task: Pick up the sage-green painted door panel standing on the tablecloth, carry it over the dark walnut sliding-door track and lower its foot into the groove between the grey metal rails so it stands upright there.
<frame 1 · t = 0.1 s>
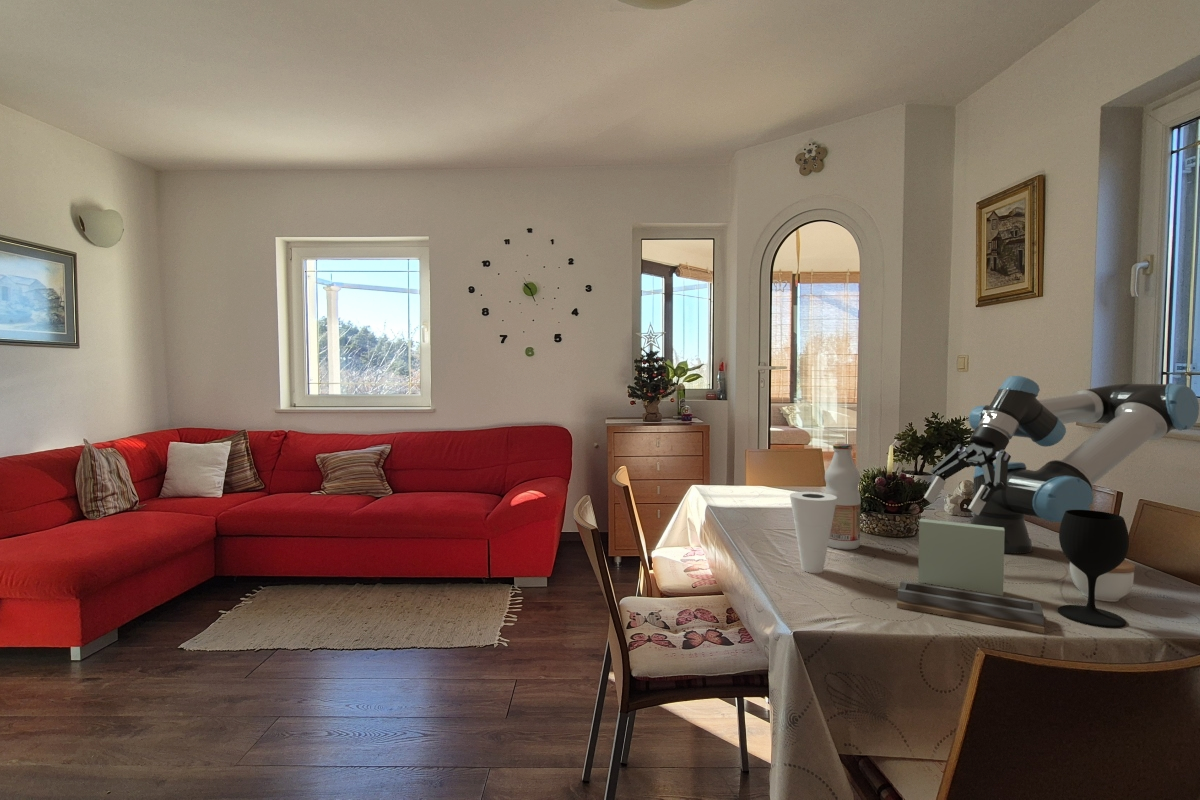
hand: (949, 506, 145), 15 cm above the table, tool tilted 35°, fingers open, 13 cm apart
lidded jar: (1100, 597, 127), on the table
door track: (966, 611, 119), on the table
wine glass: (1090, 617, 116), on the table
fruit juice: (841, 546, 166), on the table
door panel: (959, 586, 133), on the table
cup: (812, 570, 145), on the table
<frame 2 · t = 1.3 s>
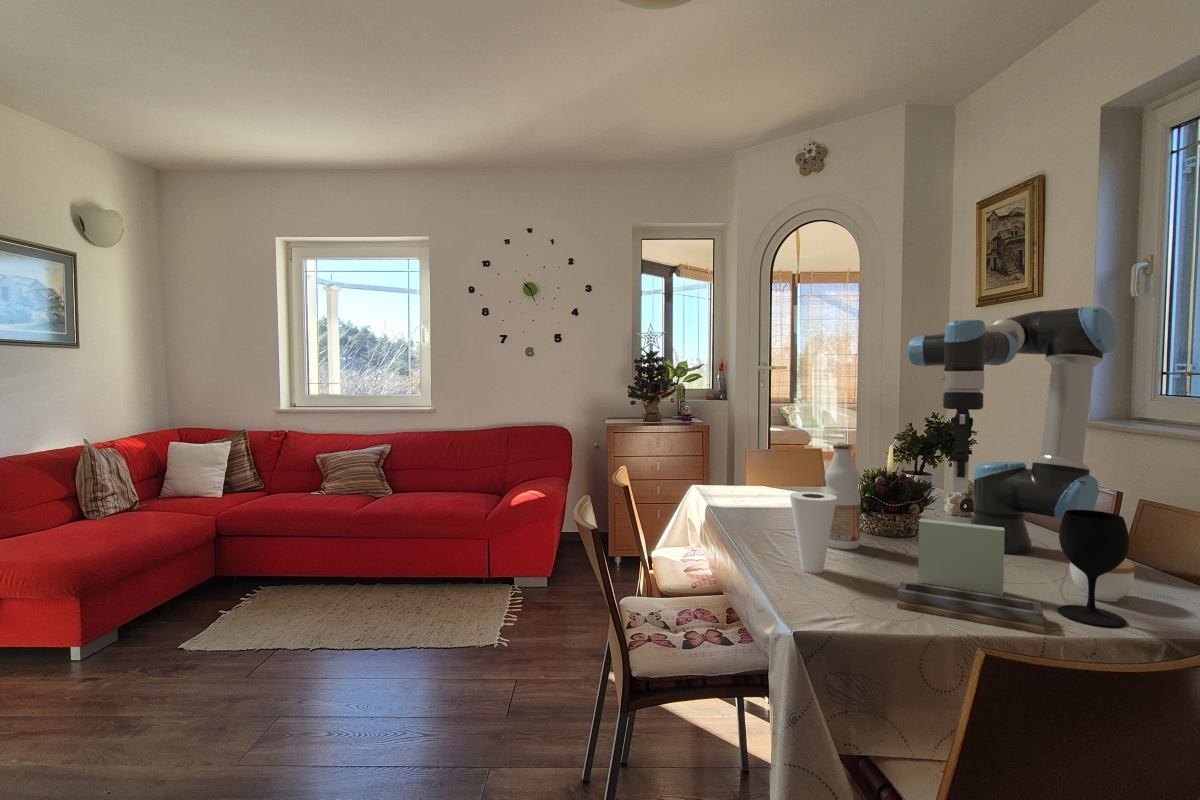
hand: (960, 487, 132), 22 cm above the table, tool pointing down, fingers open, 13 cm apart
nothing on the table moved.
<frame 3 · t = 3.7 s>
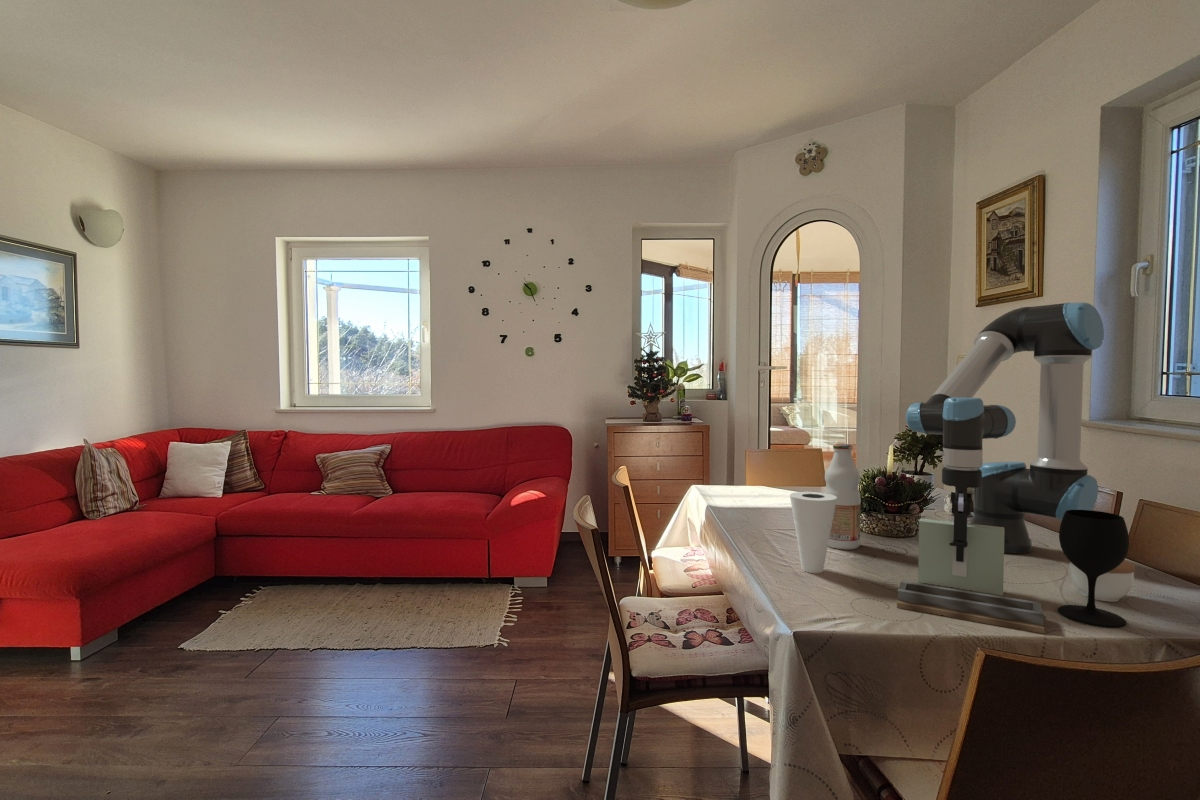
hand: (959, 572, 133), 3 cm above the table, tool pointing down, fingers closed on door panel, 3 cm apart
door panel: (959, 586, 133), on the table, touching gripper
everything else where it was.
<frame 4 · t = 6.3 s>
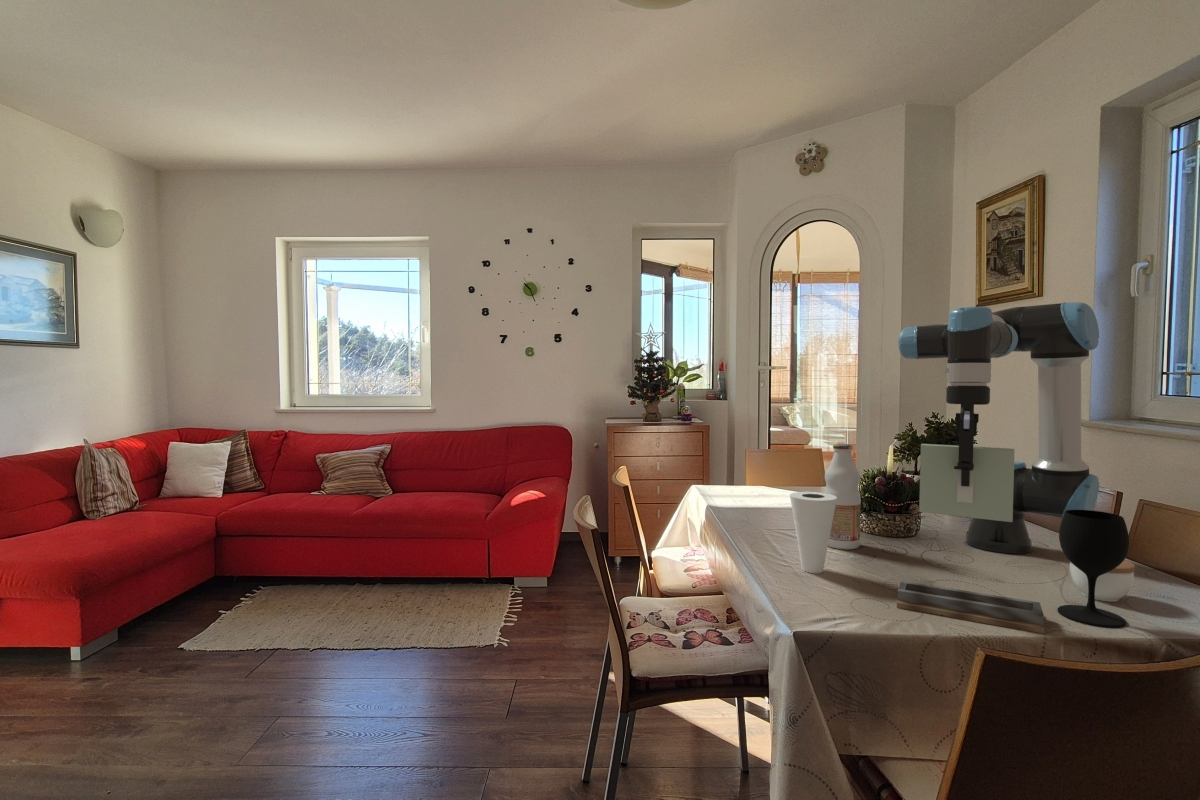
hand: (964, 500, 122), 21 cm above the table, tool pointing down, fingers closed on door panel, 3 cm apart
door panel: (964, 515, 122), point 18 cm above the table, touching gripper
everything else where it was.
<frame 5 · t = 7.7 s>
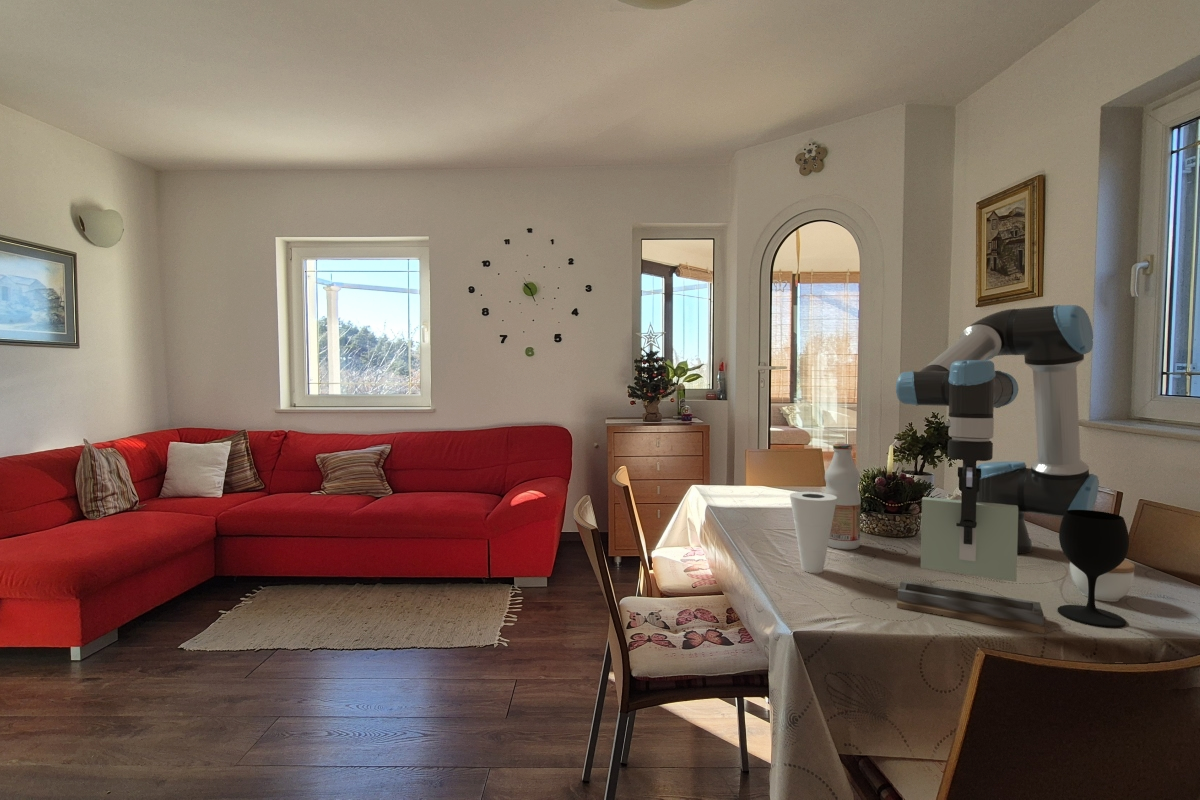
hand: (967, 557, 119), 11 cm above the table, tool pointing down, fingers closed on door panel, 3 cm apart
door panel: (966, 572, 119), point 8 cm above the table, touching gripper
everything else where it was.
when the fingers open (5 cm above the table, at t = 9.1 s): door panel stays where it is, resting on door track.
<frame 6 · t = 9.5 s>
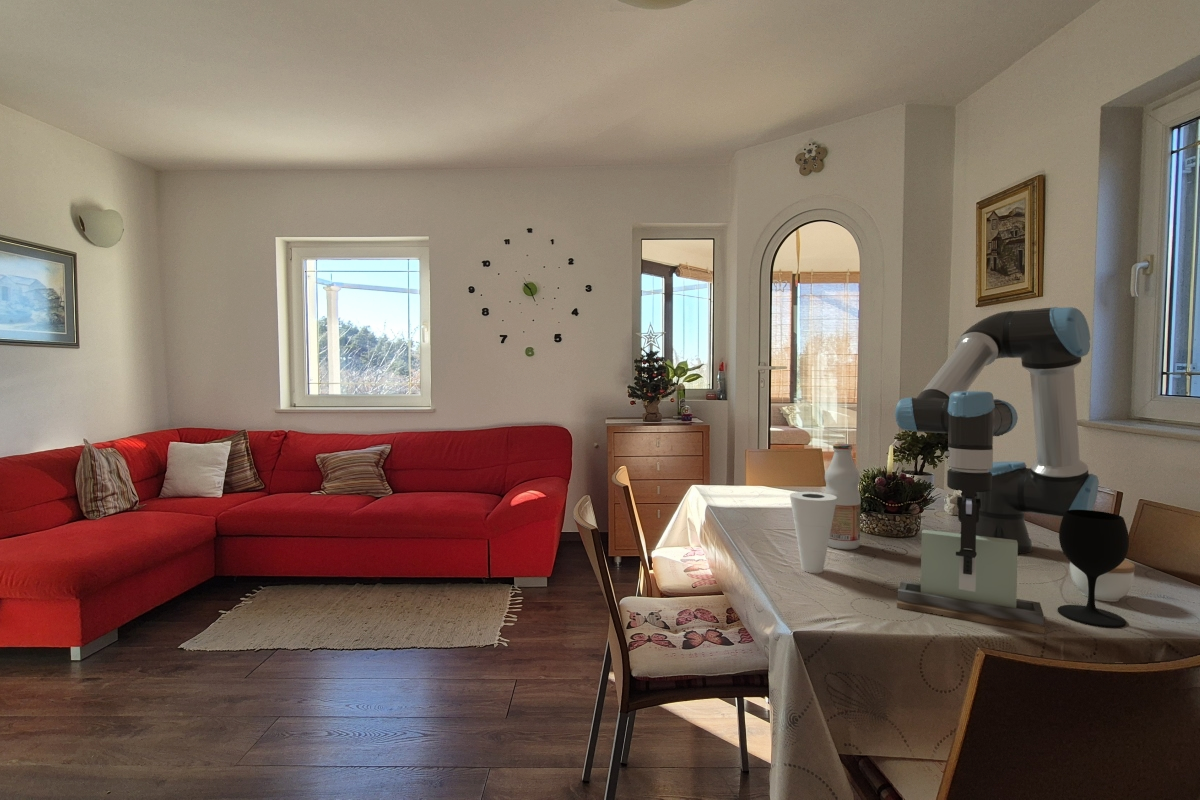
hand: (967, 581, 119), 6 cm above the table, tool pointing down, fingers open, 9 cm apart
door panel: (966, 606, 119), point 1 cm above the table, touching door track
everything else where it was.
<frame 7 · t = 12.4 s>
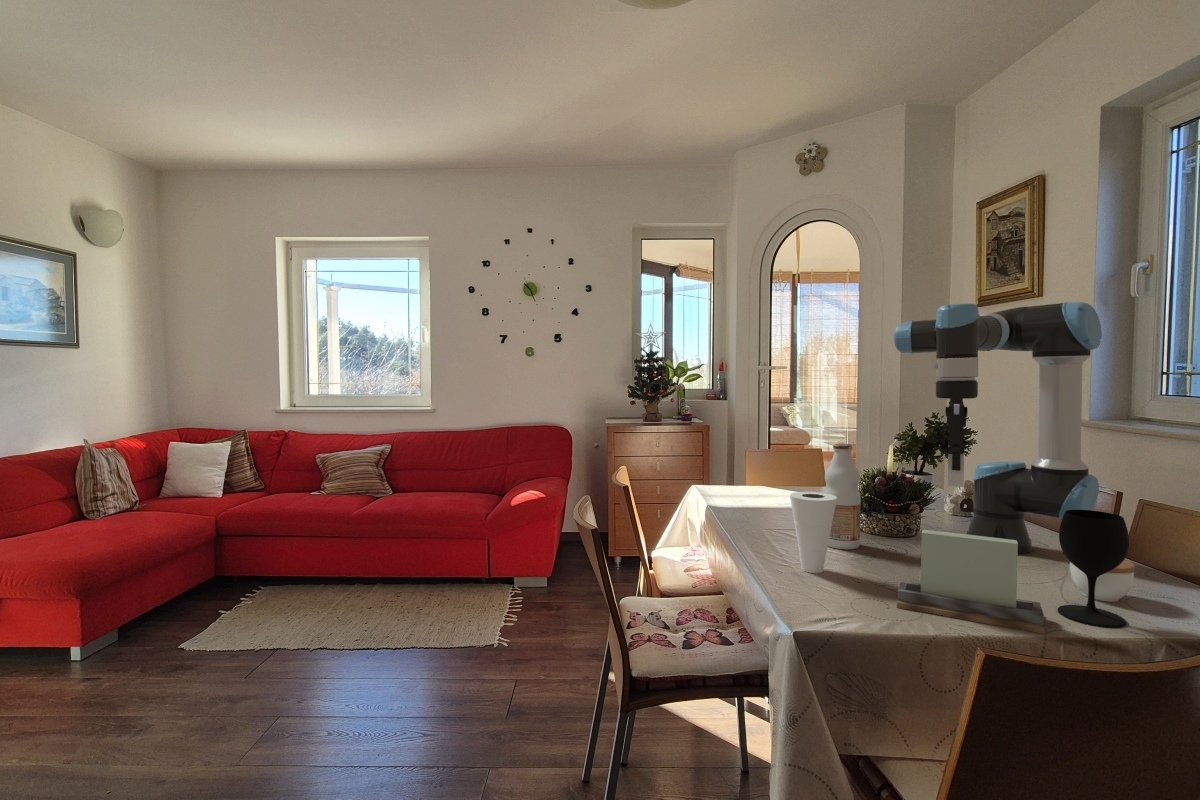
hand: (955, 480, 126), 25 cm above the table, tool pointing down, fingers open, 13 cm apart
nothing on the table moved.
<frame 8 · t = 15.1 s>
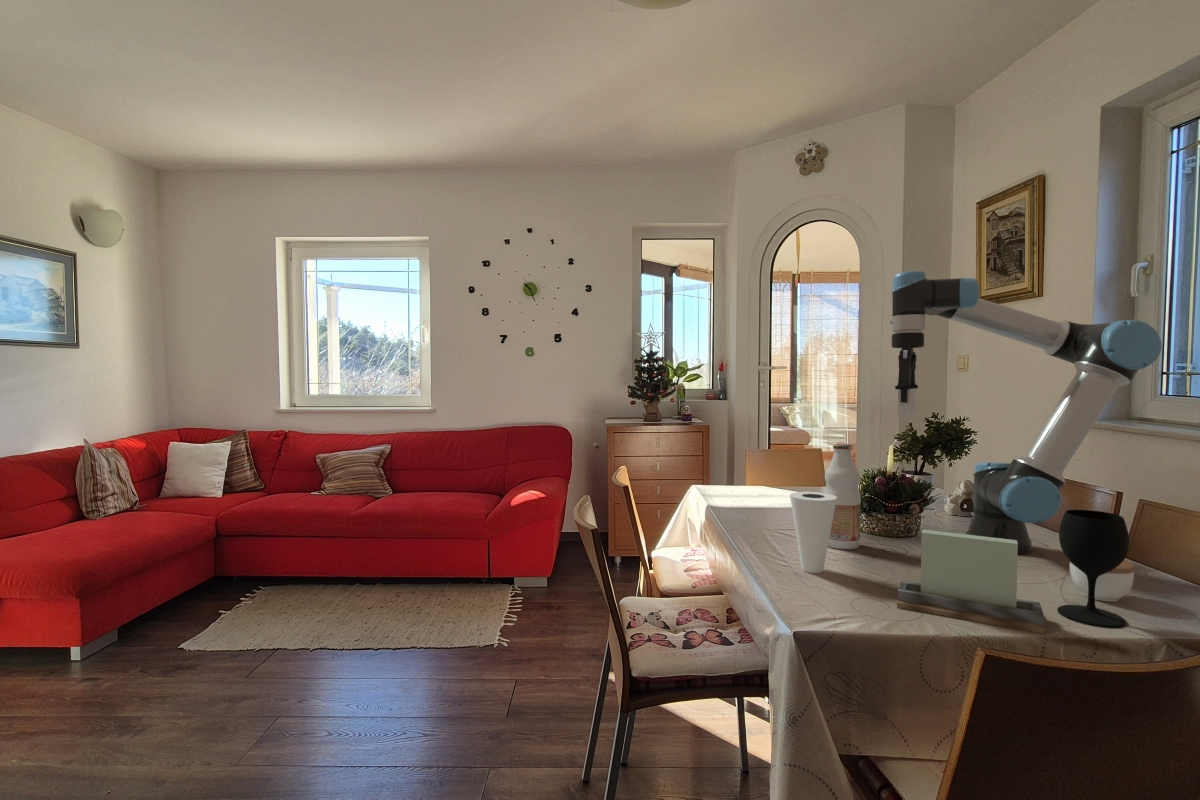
hand: (906, 414, 156), 37 cm above the table, tool pointing down, fingers open, 13 cm apart
nothing on the table moved.
at the end: door panel 0.1 cm from the door track (horizontally); door panel point 1.0 cm above the table; door panel tilted 0° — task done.
